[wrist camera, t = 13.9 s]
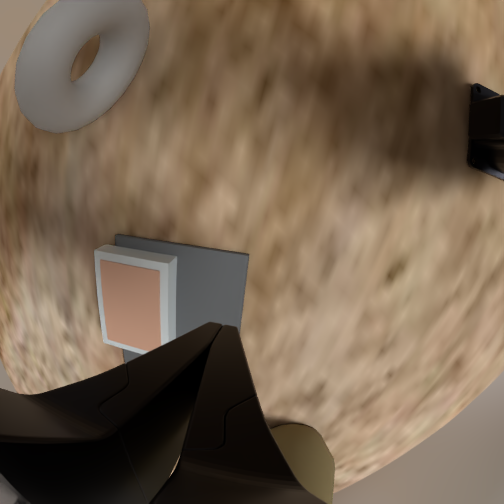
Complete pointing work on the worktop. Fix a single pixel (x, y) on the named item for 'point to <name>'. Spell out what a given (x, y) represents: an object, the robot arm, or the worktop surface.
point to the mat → (199, 283)
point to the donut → (63, 55)
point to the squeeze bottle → (307, 458)
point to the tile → (136, 297)
